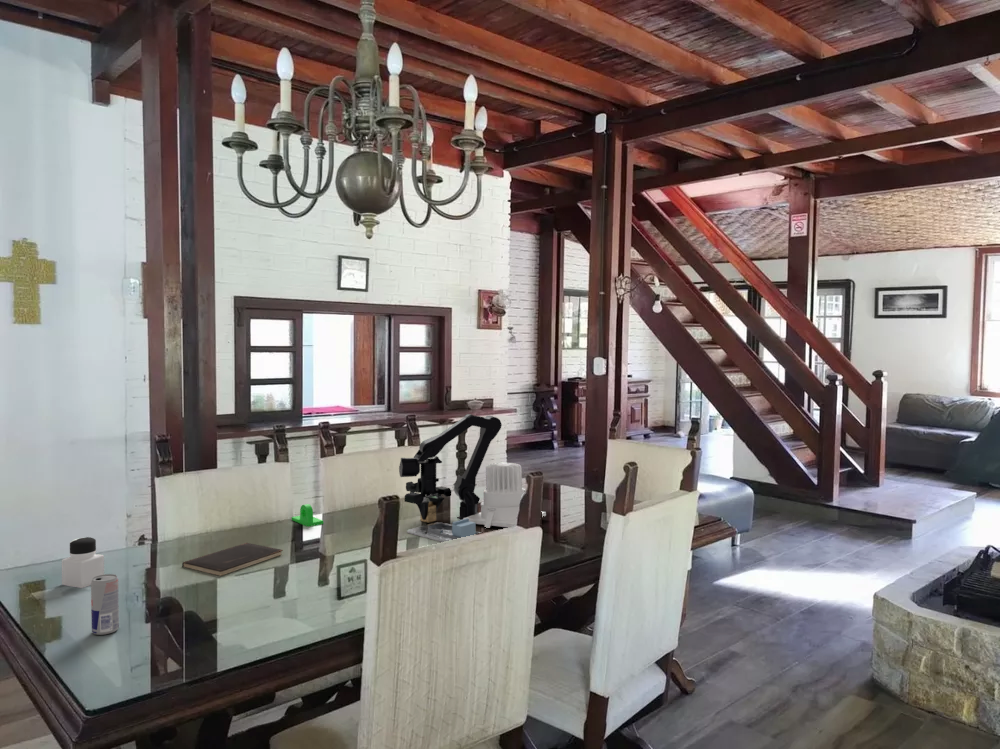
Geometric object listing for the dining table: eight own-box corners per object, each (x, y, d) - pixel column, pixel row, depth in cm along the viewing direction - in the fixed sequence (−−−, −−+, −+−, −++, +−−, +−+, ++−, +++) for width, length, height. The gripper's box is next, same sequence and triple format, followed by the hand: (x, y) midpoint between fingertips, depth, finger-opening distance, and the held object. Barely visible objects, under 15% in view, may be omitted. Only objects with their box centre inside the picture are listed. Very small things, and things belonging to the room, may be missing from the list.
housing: (466, 532, 243) (466, 518, 243) (475, 534, 241) (475, 520, 240) (452, 536, 238) (452, 522, 237) (461, 538, 235) (461, 524, 235)
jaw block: (428, 519, 265) (428, 500, 265) (436, 521, 263) (436, 502, 262) (420, 521, 262) (420, 502, 262) (428, 523, 260) (428, 504, 259)
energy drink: (98, 626, 165) (97, 574, 164) (123, 625, 165) (122, 573, 165) (87, 635, 159) (86, 581, 159) (112, 635, 160) (111, 581, 159)
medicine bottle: (105, 580, 196) (104, 536, 195) (81, 589, 189) (81, 543, 188) (84, 577, 198) (84, 534, 197) (61, 586, 191) (60, 541, 191)
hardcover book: (282, 557, 220) (282, 549, 220) (220, 578, 200) (220, 570, 200) (245, 549, 228) (245, 542, 228) (182, 569, 207) (182, 561, 207)
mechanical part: (323, 526, 256) (323, 503, 256) (307, 529, 252) (307, 506, 251) (306, 519, 265) (306, 498, 264) (291, 522, 261) (291, 500, 260)
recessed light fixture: (513, 532, 246) (511, 470, 246) (460, 526, 258) (459, 467, 258) (548, 518, 268) (546, 460, 267) (497, 512, 279) (496, 457, 279)
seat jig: (436, 525, 257) (436, 517, 257) (483, 536, 243) (483, 527, 243) (407, 533, 246) (407, 524, 246) (454, 545, 232) (454, 536, 232)
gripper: (430, 469, 274) (430, 510, 275) (393, 476, 260) (393, 519, 260) (452, 473, 267) (452, 515, 268) (415, 480, 253) (415, 524, 253)
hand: (428, 518), depth 262 cm, fingers closed on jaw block, 4 cm apart
